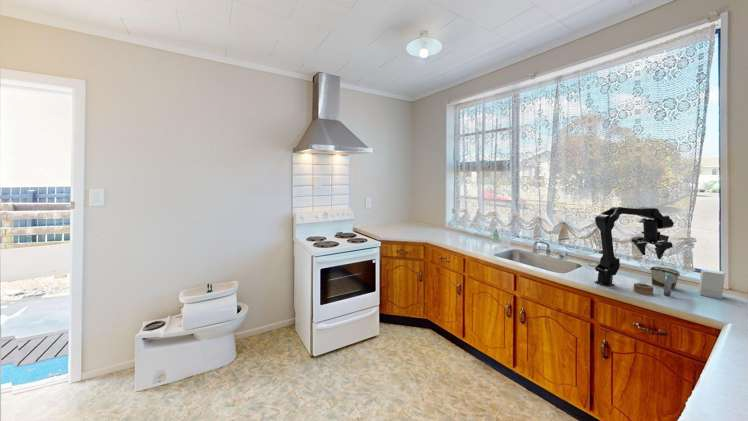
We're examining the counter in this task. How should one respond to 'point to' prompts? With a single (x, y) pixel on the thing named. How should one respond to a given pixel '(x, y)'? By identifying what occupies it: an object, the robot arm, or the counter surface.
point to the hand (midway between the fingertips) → (651, 257)
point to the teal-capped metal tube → (668, 285)
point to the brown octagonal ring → (643, 288)
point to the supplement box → (711, 283)
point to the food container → (663, 276)
